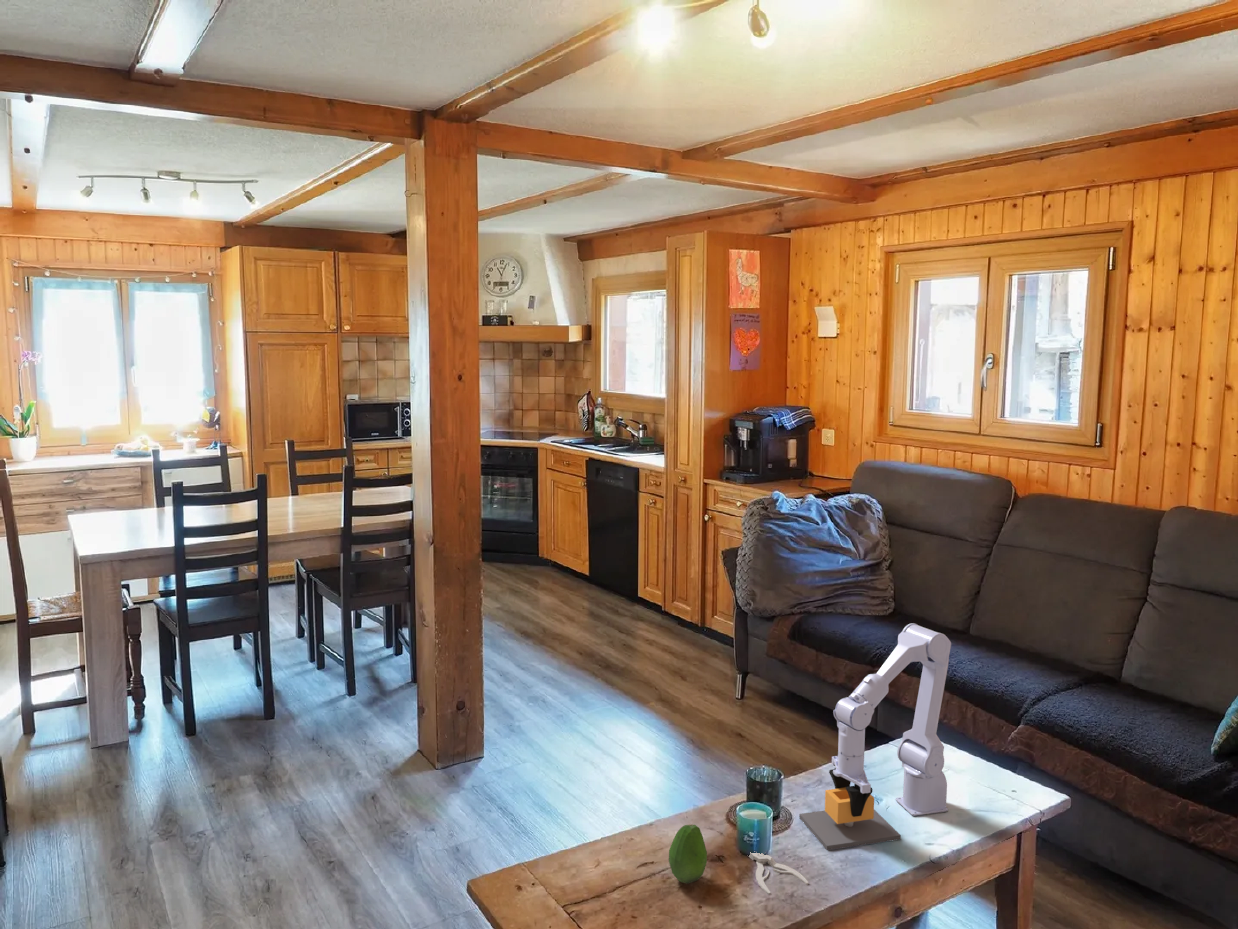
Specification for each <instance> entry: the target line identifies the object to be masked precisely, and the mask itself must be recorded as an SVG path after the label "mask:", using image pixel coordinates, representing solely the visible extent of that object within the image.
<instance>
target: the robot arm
mask: <svg viewBox="0 0 1238 929" xmlns="http://www.w3.org/2000/svg"><path fill="white" fill-rule="evenodd" d="M951 648H952V642H951V640H950V639H949V638H948V636H946V634H944V633H941V632H938V631H934V630H932V629H929V628H926V627H923V626H921V625H918V624H917V623H914V622H913V623H909V624H906V625H905V626H904V628H903V629H902V631H901V632H900V633H898V636H897V645H896V646H895V647H894V649H893V651H892V652H891V653H890V655H889V656H888V657H887V659H885V661H884V662H883V664H882V665H881V667H880V668H879V669H878V671H877V672H875V673H870V674H867V675H866V676H865V677H864V678H863V679H862V681H861V682H860V683H859V685H857V687H856V688H855V689H854V690H853V691H852V693H850V695H848V697H847V696H846V697H843V698H841V699H839V700H838V701H837V703H836V705H835V709H833V712H832V713H833V717H834V719H835V720H836V726H837V729H838V744H837V746H838V747H837V748H838V749H837V750H838V751H837V755H834V756H831V765H832V766H833V767H834V769H830V770H828V774H829V775H830V778H831V779H832V782H833V785H834V789H838V788H845V787H846V790H847V792H848V795H849V798H850V806H851V814H852V816H853V817H856V816H861V815H862V812H863V809H864V806H865V803H866V801H867V799H868V797H869V796H870V794H871V795H872V793H873V787H871V786H872V785H871V783H870V782H869V781H868V778H867V775H866V772H865V744H866V743H865V742H866V741H865V738H866V729H867V727H868V726H869V725H870V724H871V721H872V717H873V715H874V713H875V708H877V707H878V705H879V704H880V703H881V701H882V700H883V699H884V698H885V697H887V696H886V695H888V693H889V688H890V687H889V684H890V683H891V682H892V681H893V680H894V679H895V678H896V677H897V676H898V675H899V674H901V672H902V671H903V670H904V669H906V667H907V666H908V665H909V664H911V663H913V662H914V663H916V662H920V663H921V664H922V670H921V671H922V672H921V674H920V676H921V677H920V681H919V682H920V683H919V686H918V687H919V688H918V694H917V699H916V703H915V704H916V705H915V710H914V711H915V712H914V717H913V721H912V722H913V723H912V728H911V729H909V730H906V731H904V732H902V737H901V738H902V739H901V741H900V743H899V745H898V747H897V750H896V751H897V758H898V760H899V761H900V762H901V767H902V768H903V787H902V788H903V792H902V793H903V794H902V796H900V797H895V801H896V802H897V803H898V804H899V805H900V806H902V807H903V809H905V811H907V812H908V813H909V814H910V815H911V816H915V817H917V816H922V815H931V814H937V813H944V812H948V811H949V808H948V807H947V794H948V782H947V778H946V774H945V772H944V771H943V769H944V765H945V756H944V750H945V746H944V744H943V742H942V741H941V740H940V738H939V736H938V735H937V730H938V725H939V724H938V723H939V721H940V720H939V719H940V713H941V709H942V708H941V707H942V702H943V696H944V692H945V686H946V685H945V684H946V681H947V680H946V679H947V674H948V668H949V662H950V661H949V658H950V653H951ZM851 783H853V784H854V785H851Z"/></svg>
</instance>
